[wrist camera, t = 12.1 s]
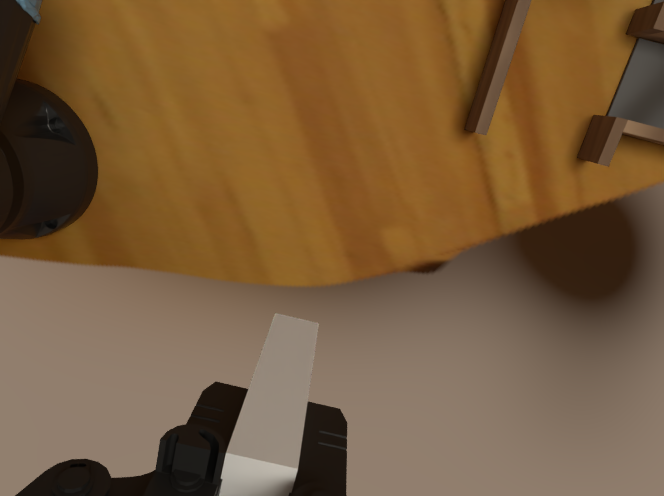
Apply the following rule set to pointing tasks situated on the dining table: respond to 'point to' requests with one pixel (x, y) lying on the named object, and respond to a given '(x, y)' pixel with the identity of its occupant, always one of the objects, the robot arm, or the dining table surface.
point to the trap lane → (630, 98)
